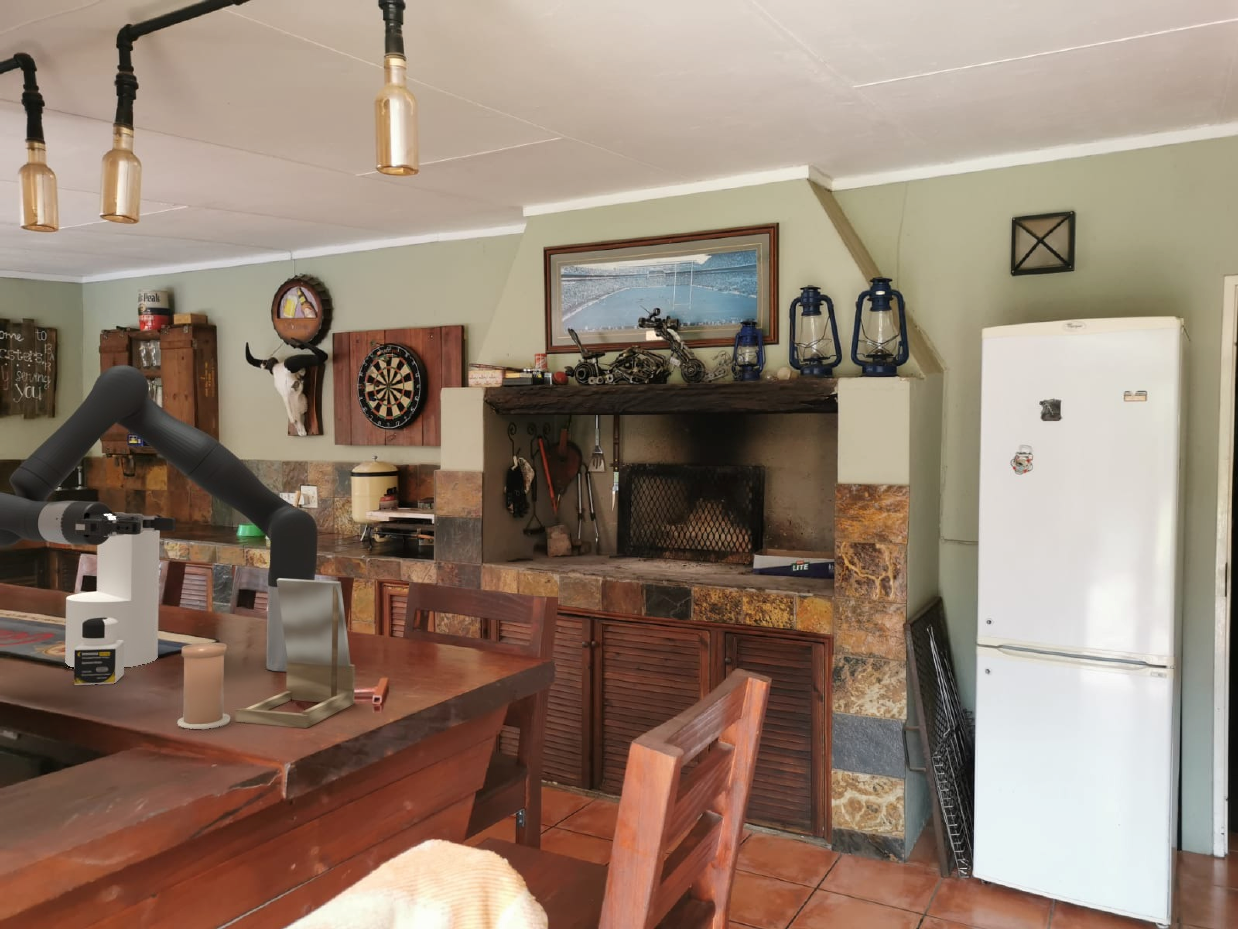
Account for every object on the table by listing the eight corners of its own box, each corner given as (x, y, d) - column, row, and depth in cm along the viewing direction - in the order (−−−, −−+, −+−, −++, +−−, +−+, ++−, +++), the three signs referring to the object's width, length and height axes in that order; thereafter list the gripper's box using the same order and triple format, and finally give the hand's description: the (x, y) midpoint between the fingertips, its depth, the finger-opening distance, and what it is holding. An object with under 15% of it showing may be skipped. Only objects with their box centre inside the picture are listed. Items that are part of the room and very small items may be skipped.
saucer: (198, 714, 161) (198, 711, 161) (240, 718, 160) (240, 714, 160) (166, 727, 153) (166, 723, 153) (209, 731, 152) (209, 727, 152)
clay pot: (198, 712, 161) (199, 641, 160) (234, 715, 159) (235, 644, 159) (171, 723, 154) (172, 649, 154) (208, 726, 152) (209, 652, 152)
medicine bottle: (73, 686, 179) (74, 622, 179) (83, 677, 186) (84, 616, 185) (115, 684, 181) (116, 621, 180) (124, 675, 187) (125, 615, 187)
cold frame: (289, 698, 173) (291, 575, 173) (354, 703, 170) (356, 578, 170) (235, 721, 157) (237, 586, 157) (306, 728, 155) (308, 590, 154)
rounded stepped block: (136, 649, 212) (138, 524, 212) (172, 661, 201) (174, 529, 201) (51, 660, 199) (53, 527, 199) (84, 674, 188) (86, 533, 187)
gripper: (43, 503, 157) (127, 506, 154) (107, 499, 171) (185, 502, 167) (42, 548, 157) (126, 552, 154) (106, 541, 171) (184, 544, 168)
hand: (157, 526), depth 161 cm, fingers open, 8 cm apart
